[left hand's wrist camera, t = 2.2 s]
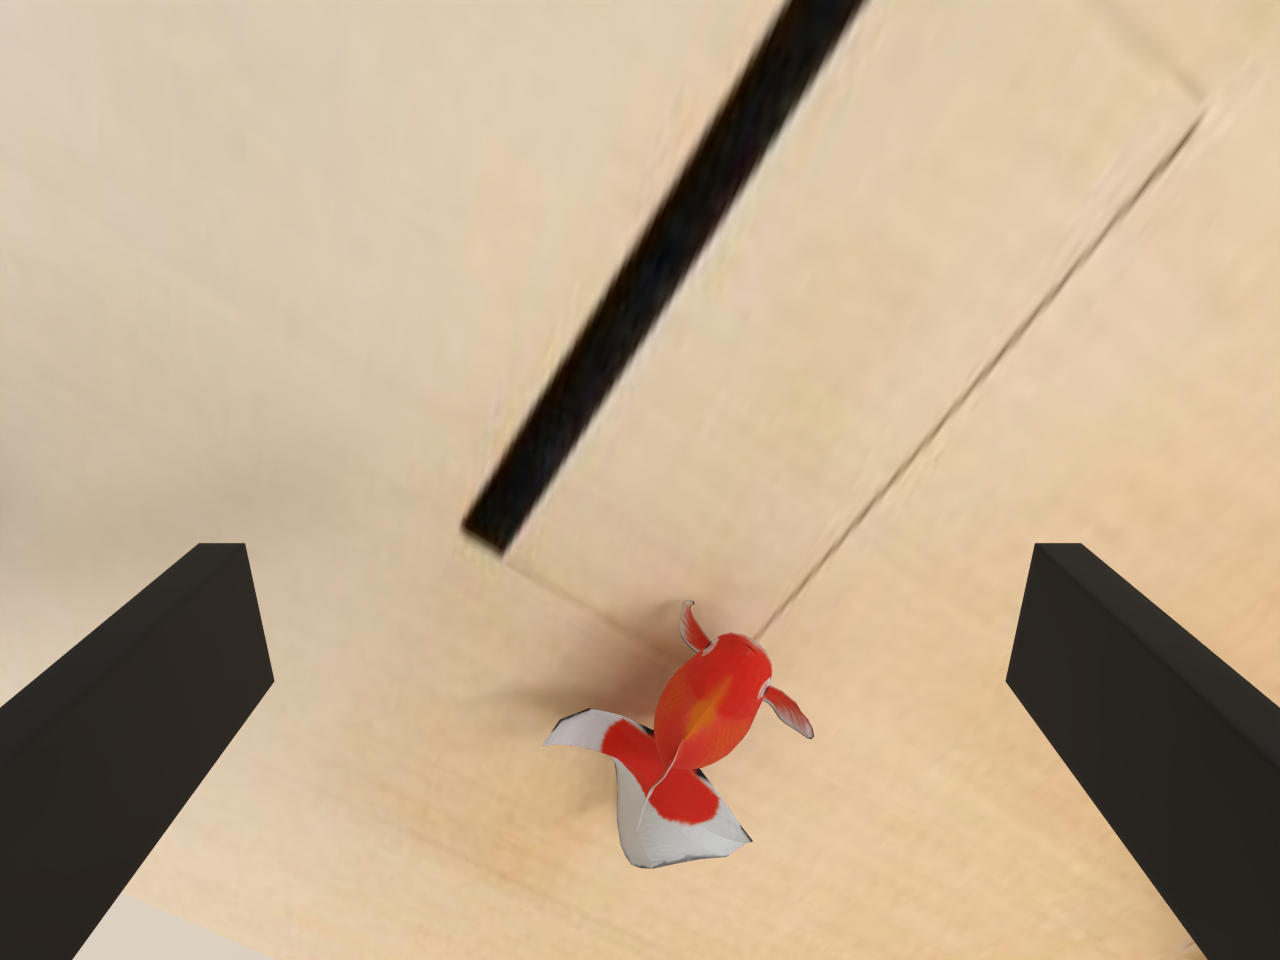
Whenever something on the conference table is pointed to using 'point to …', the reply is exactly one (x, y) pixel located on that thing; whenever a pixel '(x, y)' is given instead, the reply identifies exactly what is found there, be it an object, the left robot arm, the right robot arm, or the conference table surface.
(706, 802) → the fish
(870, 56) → the conference table surface
